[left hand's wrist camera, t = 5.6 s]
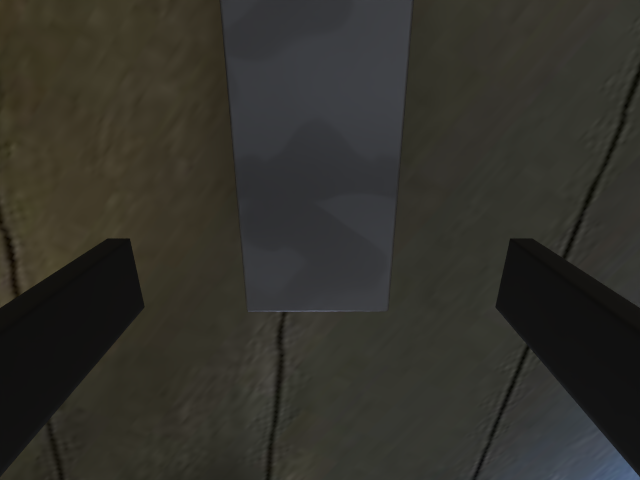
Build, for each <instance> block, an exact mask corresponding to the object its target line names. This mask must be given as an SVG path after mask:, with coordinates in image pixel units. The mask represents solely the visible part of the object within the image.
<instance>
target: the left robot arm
mask: <svg viewBox="0 0 640 480" xmlns="http://www.w3.org/2000/svg"><path fill="white" fill-rule="evenodd" d="M143 308H144V302H143V298H142V293H141V288H140V284H139V279H138V274H137V270H136V265H135V261H134V256H133V251H132V247H131V242H130V239H106V240H105V241H103V242H102V243H100V244H98V245H97V246H95V247H94V248H92V249H91V250H89V251H88V252H86V253H85V254H83V255H81V256H80V257H78V258H77V259H75V260H74V261H72V262H71V263H69V264H68V265H66V266H64V267H63V268H61V269H60V270H58V271H57V272H55V273H54V274H52V275H51V276H49V277H47V278H46V279H44V280H43V281H41V282H40V283H38V284H37V285H35V286H34V287H32V288H30V289H29V290H27V291H26V292H24V293H23V294H21V295H20V296H18V297H17V298H15V299H13V300H12V301H10V302H9V303H7V304H6V305H4V306H3V307H1V308H0V476H1V475H2V474H3V473H4V472H5V471H6V469H7V468H8V467H9V466H10V465H11V464H12V462H13V461H14V460H15V459H16V458H17V456H18V455H19V454H20V453H21V452H22V451H23V449H24V448H25V447H26V446H27V445H28V444H29V442H30V441H31V440H32V439H33V438H34V436H35V435H36V434H37V433H38V432H39V431H40V429H41V428H42V427H43V426H44V425H45V424H46V422H47V421H48V420H49V419H50V418H51V417H52V415H53V414H54V413H55V412H56V411H57V409H58V408H59V407H60V406H61V405H62V404H63V402H64V401H65V400H66V399H67V398H68V397H69V395H70V394H71V393H72V392H73V391H74V389H75V388H76V387H77V386H78V385H79V384H80V382H81V381H82V380H83V379H84V378H85V377H86V375H87V374H88V373H89V372H90V371H91V370H92V368H93V367H94V366H95V365H96V364H97V362H98V361H99V360H100V359H101V358H102V357H103V355H104V354H105V353H106V352H107V351H108V350H109V348H110V347H111V346H112V345H113V344H114V342H115V341H116V340H117V339H118V338H119V337H120V335H121V334H122V333H123V332H124V331H125V330H126V328H127V327H128V326H129V325H130V324H131V323H132V321H133V320H134V319H135V318H136V317H137V315H138V314H139V313H140V312H141V311H142V310H143ZM496 308H497V310H498V311H499V312H500V313H501V314H502V315H503V317H504V318H505V319H506V320H507V321H508V323H509V324H510V325H511V326H512V327H513V328H514V330H515V331H516V332H517V333H518V334H519V335H520V337H521V338H522V339H523V340H524V341H525V342H526V344H527V345H528V346H529V347H530V348H531V350H532V351H533V352H534V353H535V354H536V355H537V357H538V358H539V359H540V360H541V361H542V362H543V364H544V365H545V366H546V367H547V368H548V370H549V371H550V372H551V373H552V374H553V375H554V377H555V378H556V379H557V380H558V381H559V382H560V384H561V385H562V386H563V387H564V388H565V389H566V391H567V392H568V393H569V394H570V395H571V397H572V398H573V399H574V400H575V401H576V402H577V404H578V405H579V406H580V407H581V408H582V409H583V411H584V412H585V413H586V414H587V415H588V417H589V418H590V419H591V420H592V421H593V422H594V424H595V425H596V426H597V427H598V428H599V429H600V431H601V432H602V433H603V434H604V435H605V436H606V438H607V439H608V440H609V441H610V442H611V444H612V445H613V446H614V447H615V448H616V449H617V451H618V452H619V453H620V454H621V455H622V456H623V458H624V459H625V460H626V461H627V462H628V464H629V465H630V466H631V467H632V468H633V469H634V471H635V472H636V473H637V474H638V475H639V476H640V308H639V307H637V306H636V305H634V304H633V303H631V302H630V301H628V300H627V299H625V298H623V297H622V296H620V295H619V294H617V293H616V292H614V291H613V290H611V289H610V288H608V287H606V286H605V285H603V284H602V283H600V282H599V281H597V280H596V279H594V278H593V277H591V276H589V275H588V274H586V273H585V272H583V271H582V270H580V269H579V268H577V267H576V266H574V265H572V264H571V263H569V262H568V261H566V260H565V259H563V258H562V257H560V256H559V255H557V254H555V253H554V252H552V251H551V250H549V249H548V248H546V247H545V246H543V245H542V244H540V243H538V242H537V241H535V240H534V239H510V242H509V247H508V251H507V256H506V261H505V265H504V270H503V274H502V279H501V284H500V288H499V293H498V298H497V302H496Z"/></svg>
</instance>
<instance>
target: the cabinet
mask: <svg viewBox="0 0 640 480" xmlns="http://www.w3.org/2000/svg"><path fill="white" fill-rule="evenodd" d="M413 2H414V0H220V9H221V20H222V32H223V43H224V55H225V66H226V77H227V89H228V100H229V112H230V123H231V135H232V146H233V158H234V169H235V180H236V192H237V203H238V215H239V226H240V238H241V249H242V260H243V272H244V283H245V295H246V306H247V311H248V312H287V311H388V308H389V296H390V284H391V272H392V259H393V247H394V235H395V223H396V210H397V198H398V186H399V174H400V161H401V149H402V137H403V125H404V112H405V100H406V88H407V76H408V63H409V51H410V39H411V27H412V14H413Z"/></svg>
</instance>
